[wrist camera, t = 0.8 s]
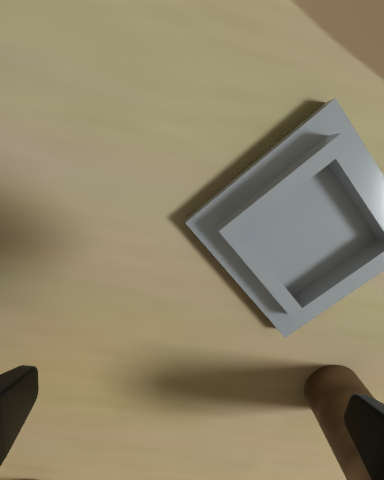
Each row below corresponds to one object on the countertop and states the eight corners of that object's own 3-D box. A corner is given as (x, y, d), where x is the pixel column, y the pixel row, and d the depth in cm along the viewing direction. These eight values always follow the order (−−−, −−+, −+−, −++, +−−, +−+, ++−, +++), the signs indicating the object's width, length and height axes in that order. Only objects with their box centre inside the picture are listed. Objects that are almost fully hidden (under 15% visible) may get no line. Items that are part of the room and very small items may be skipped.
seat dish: (279, 328, 22) (292, 351, 20) (185, 219, 20) (184, 228, 17) (411, 237, 20) (445, 249, 18) (325, 102, 18) (350, 91, 15)
